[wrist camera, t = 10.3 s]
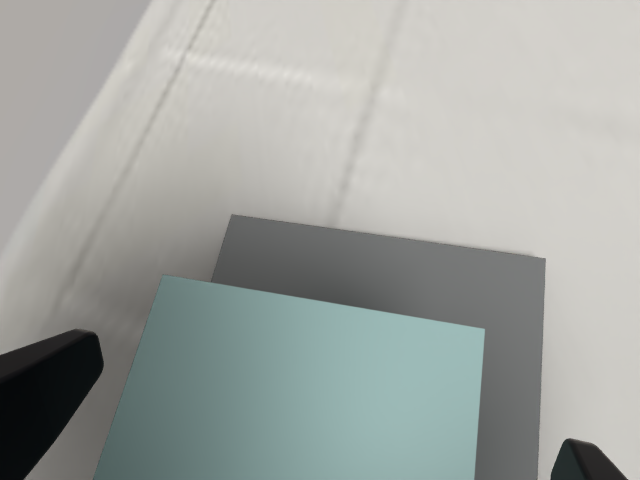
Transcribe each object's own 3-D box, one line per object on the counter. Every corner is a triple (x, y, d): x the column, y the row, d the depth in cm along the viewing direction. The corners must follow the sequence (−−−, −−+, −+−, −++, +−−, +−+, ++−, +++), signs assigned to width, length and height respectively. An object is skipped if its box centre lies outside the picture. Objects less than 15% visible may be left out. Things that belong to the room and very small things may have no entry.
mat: (515, 815, 12) (523, 842, 11) (108, 646, 14) (93, 659, 14) (539, 264, 17) (545, 258, 16) (237, 221, 20) (231, 214, 19)
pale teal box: (413, 568, 13) (449, 833, 5) (236, 515, 15) (32, 657, 6) (434, 371, 15) (485, 329, 7) (277, 341, 17) (163, 274, 8)
